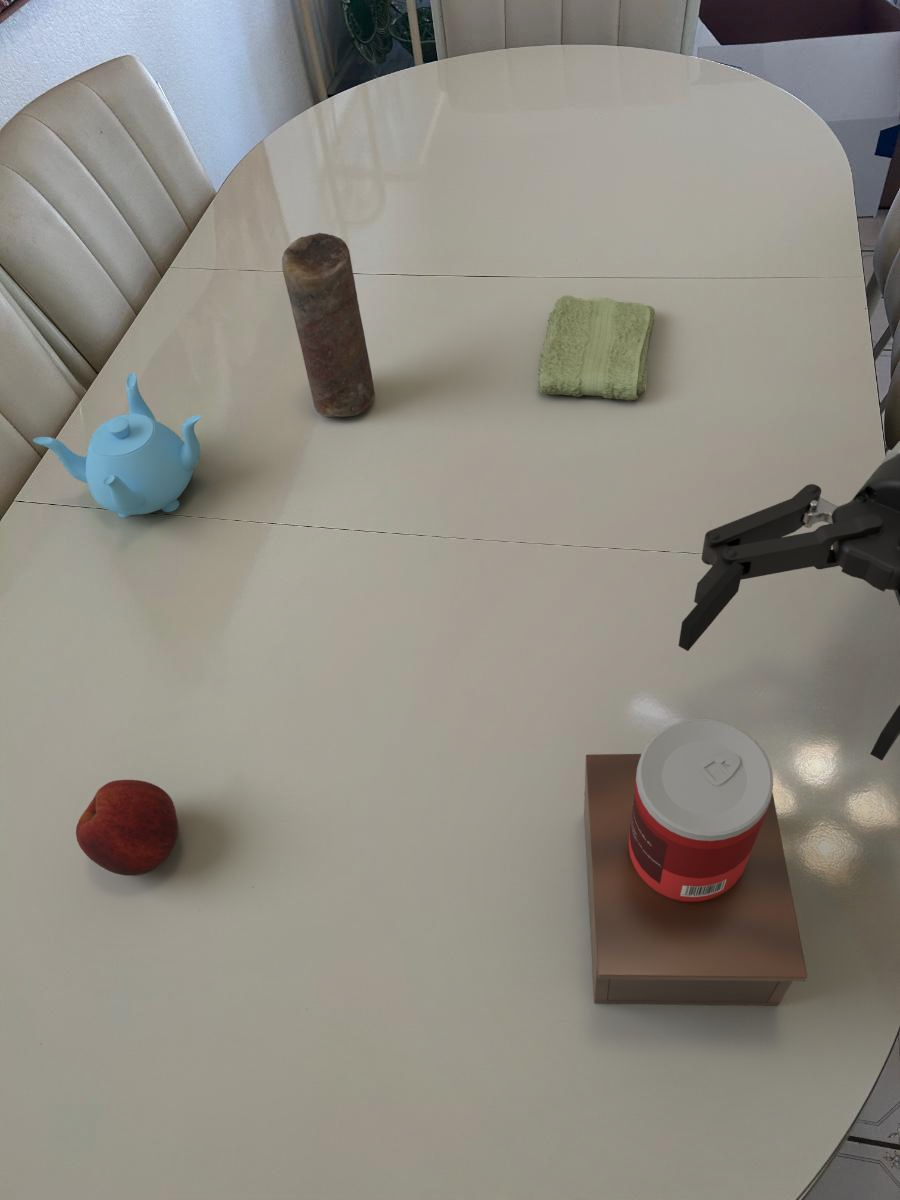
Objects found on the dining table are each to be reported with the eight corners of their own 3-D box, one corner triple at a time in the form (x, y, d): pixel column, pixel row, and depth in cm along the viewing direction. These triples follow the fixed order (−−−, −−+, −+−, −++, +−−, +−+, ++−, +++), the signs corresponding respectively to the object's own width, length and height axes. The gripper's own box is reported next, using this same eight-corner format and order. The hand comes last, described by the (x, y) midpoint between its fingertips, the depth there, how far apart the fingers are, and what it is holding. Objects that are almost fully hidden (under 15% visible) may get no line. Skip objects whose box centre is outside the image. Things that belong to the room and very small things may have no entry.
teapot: (230, 484, 105) (203, 415, 97) (135, 555, 99) (98, 488, 91) (161, 438, 111) (130, 369, 103) (69, 503, 105) (28, 435, 97)
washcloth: (656, 314, 116) (658, 291, 113) (644, 407, 106) (646, 385, 103) (551, 310, 119) (551, 287, 116) (529, 400, 108) (528, 378, 106)
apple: (135, 793, 81) (99, 747, 75) (210, 821, 79) (179, 777, 73) (84, 870, 77) (42, 829, 71) (162, 902, 75) (125, 863, 69)
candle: (384, 385, 113) (355, 232, 97) (371, 426, 108) (338, 272, 93) (324, 383, 114) (285, 231, 98) (308, 423, 110) (265, 271, 94)
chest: (778, 1006, 66) (802, 966, 59) (594, 1003, 67) (597, 965, 60) (745, 811, 75) (763, 757, 68) (584, 812, 76) (585, 759, 69)
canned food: (769, 843, 63) (800, 765, 54) (700, 932, 60) (722, 864, 51) (673, 776, 67) (689, 693, 58) (604, 857, 64) (610, 782, 55)
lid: (805, 981, 58) (808, 978, 58) (597, 979, 59) (598, 975, 59) (763, 757, 68) (765, 751, 67) (585, 759, 69) (585, 754, 68)
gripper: (1085, 605, 65) (956, 828, 56) (761, 463, 77) (612, 629, 68) (1136, 532, 59) (1001, 768, 50) (777, 391, 71) (616, 562, 62)
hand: (777, 689), depth 59 cm, fingers open, 13 cm apart
